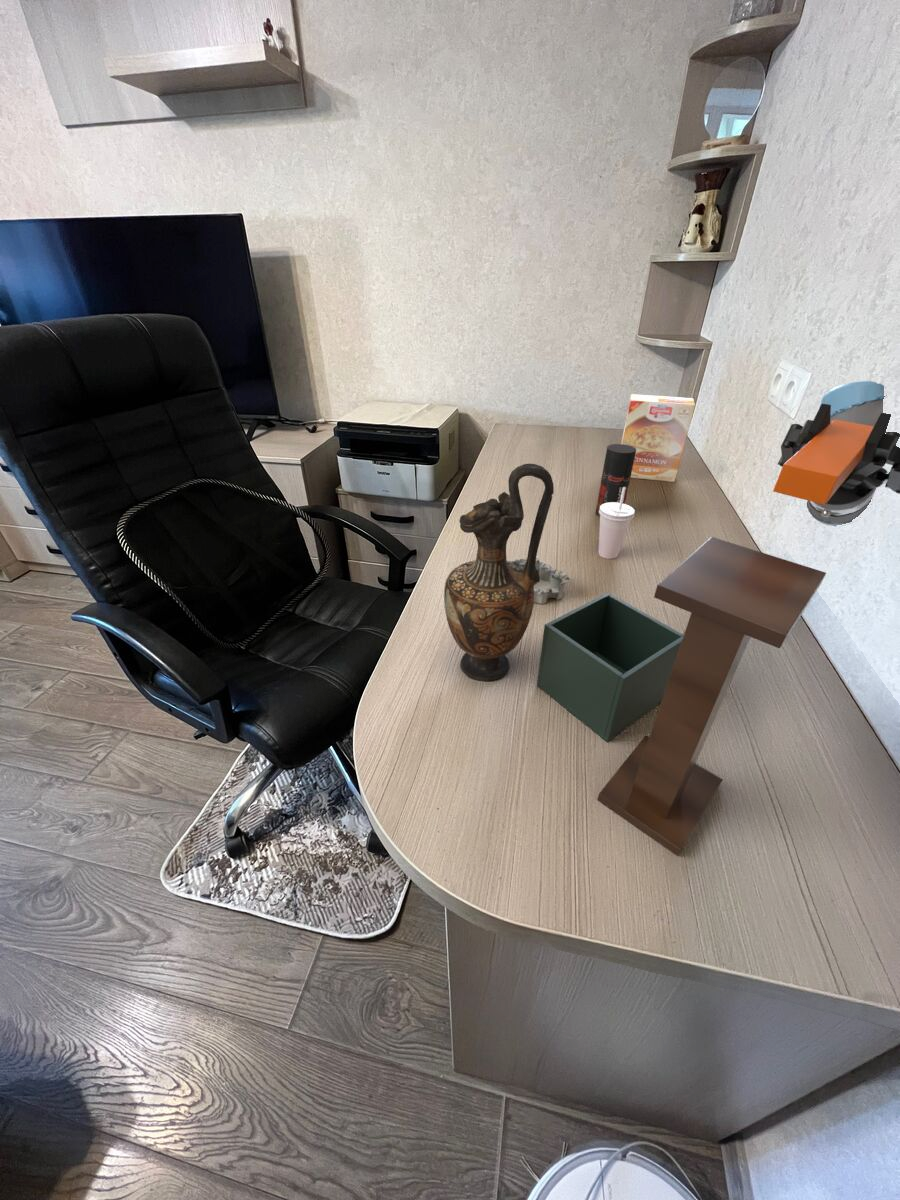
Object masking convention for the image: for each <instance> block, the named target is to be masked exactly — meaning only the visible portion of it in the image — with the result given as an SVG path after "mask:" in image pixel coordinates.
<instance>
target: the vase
mask: <svg viewBox="0 0 900 1200" xmlns="http://www.w3.org/2000/svg"><path fill="white" fill-rule="evenodd" d="M524 477H533V478H536V479H538V480H540V481H542V483H543V485H544V490H543V493H542V497H541V499H540V502H539V505H538V508H537V512H536V514H535V515H536V516H535V519H534V523H533V527H532V531H531V535H530V541H529V545H528V549H527V550H528V551H527V557H526V558H527V562H526V565H525V568H524V570H523V569H521V568H520V567H518V566H516V565H515V564H512V563H509V562H507V561H508V559H507V544H508V540H509V538H510V536H511V535H512V534H513V532H517V531H518V530H519V529H520V528H521V527H522V524H523V520H524V517H525V515H524V514H525V513H524V507H523V502H522V498H521V494H520V487H519V484H520V483H519V482H520V480H521V479H522V478H524ZM507 483H508V493H507V492H506V491H503V492H501V493H500V494H499V495H498V496H497V499H496V498H489V499H488V500H487V501H485V502H480V503H477V504H475V505H473V506H472V508H473V509H472V510H471V511H469V512H467V513H466V514H461V516H460V517H459V519H458V520H459V527H460V530H461V531H462V532H463V533H466V534H472V533H473V535H474V536H475V539H476V541H477V550H476V558H475V560H470V561H467V562H464V563H461V564H460V565H458V566H457V567H455V568H454V569H452V570H451V571H450V572H449V574H448V575H447V578H446V580H445V582H444V583H445V584H444V591H443V592H444V593H443V595H444V596H443V599H444V600H443V601H444V612H445V616H446V617H445V618H446V622H447V624H448V628H449V630H450V633H451V636H452V638H453V640H454V641H455V643H456V644H457V646H458V647H459V648H460V649H461V650H462V651H463V652H464V654H463V655H462V657H461V659H460V662H459V664H460V665H459V666H460V670H461V671H462V672H463V674H464V675H465V676H466V677H468V678H470V679H472V680H475V681H480V682H491V681H495V680H499V679H502V678H503V677H504V676H505V675H507V673H508V672H509V671H510V667H511V665H510V660H509V658H508V657H507V654H508V653H510V652H511V651H513V650H514V649H515V648H516V647H517V646H518V644H519V643H520V642H521V640H522V638H523V637H524V635H525V634H526V631H527V629H528V626H529V623H530V620H531V617H532V615H533V609H534V604H535V603H534V584H535V583H537V582H539V581H540V575H539V572H538V571H537V569H536V565H535V564H536V558H537V555H538V551H539V547H540V542H541V538H542V535H543V532H544V528H545V525H546V520H547V517H548V514H549V511H550V507H551V504H552V502H553V501H552V500H553V495H554V493H555V489H554V488H555V487H554V481H553V477H552V474H551V473H550V472H549V471H548V470H547V469H546V468H545V467H544V466H542V465H539V464H536V463H523V464H521V465H519V466H516V467H515V468H514V469H512V471H511V473H510V474H509V477H508V482H507Z"/></svg>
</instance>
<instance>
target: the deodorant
mask: <svg viewBox="0 0 900 1200" xmlns="http://www.w3.org/2000/svg"><path fill="white" fill-rule="evenodd" d="M635 454H636V448H635V447H633V446H630V445H625V444H621V443H613V444H608V445H606V451H605V457H604V463H603V467H602V474H601V478H600V479H601V480H600V485H599V491H598V496H597V502H596V507H595V515H596V516H597V517H599V518H600V514H599V510H600V506H601V505H602V504H604V503H609V502H617V503H620V498H621V494H622V489H623V487H626V490H625V495H624V499H623V504H626V500H627V497H628V491H629V487H630V482H631V478H630V477H631V473H632V468H633V463H634V459H635Z"/></svg>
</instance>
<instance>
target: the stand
mask: <svg viewBox="0 0 900 1200" xmlns="http://www.w3.org/2000/svg"><path fill="white" fill-rule="evenodd" d="M826 575H827V572H825V571H822V570H819V569H815V568H813V567H810V566H806V565H803V564H799V563H796V562H793V561H790V560H787V559H784V558H781V557H778V556H775V555H772V554H768V553H764V552H762V551H758V550H755V549H752V548H749V547H746V546H743V545H740V544H736V543H733V542H730V541H727V540H723V539H720V538H717V537H714V536H710V537H709V538H708V539H707V540H706V541H705V542H704V543H703V544H701V546H699V547H698V548H697V549H696V550H695V551H694V552H692V553H691V554H690V555H689V556H688V557H687V558H686V559H685V560H683V562H681V563H680V564H679V565H678V566H677V567H676V568H675V569H674V570H673V571H671V572H670V573H669V574H668V575H667V576H666V577H664V578H663V579H662V580H661V581H660V582H659V583H658V584H657V585H656V588H655V591H654V595H653V597H654V599H656V600H659V601H661V602H664V603H667V604H668V605H671V606H674V607H676V608H679V609H681V610H684V611H686V612H688V613H690V616H689V619H688V621H687V624H686V627H685V631H684V634H683V635H684V636H683V639H682V642H681V645H680V648H679V651H678V654H677V657H676V660H675V663H674V666H673V669H672V672H671V675H670V678H669V681H668V684H667V686H666V689H665V692H664V695H663V698H662V701H661V703H660V704H659V708H658V709H657V710H658V711H657V713H656V716H655V719H654V722H653V725H652V728H651V731H650V733H649V736H648V735H645V736H644V737H642V738H641V740H640V742H639V743H638V744H637V745H636V747H635V748H634V749H633V750H632V752H630V754H629V755H628V757H627V758H626V759H625V761H624V762H622V764H621V765H620V767H619V768H618V769H617V770H616V772H615V773H614V774H613V776H611V778H610V780H609V781H608V782H607V783H606V784H605V785H604V787H602V789H601V790H600V792H599V793H598V796H597V801H598V802H599V803H601V804H602V805H604V806H605V807H606V808H608V809H610V810H611V811H612V812H614V813H615V814H616V815H618V816H620V817H621V818H622V819H623V820H625V821H627V822H628V823H630V824H631V825H632V826H634V827H635V828H637V829H638V830H640V831H641V832H643V833H644V834H646V835H647V836H648V837H649V838H651V839H652V840H654V841H655V842H656V843H658V844H660V845H661V846H663V847H664V848H666V849H667V850H668V851H670V852H671V853H673V854H674V855H675V856H677V857H679V856H680V854H681V853H682V851H683V849H684V848H685V846H686V845H687V843H688V841H689V839H690V837H691V836H692V834H693V832H694V831H695V829H696V827H697V825H698V824H699V822H700V820H701V819H702V817H703V815H704V813H705V812H706V810H707V809H708V807H709V805H710V803H711V802H712V801H713V798H714V796H715V795H716V793H717V791H718V790H719V788H720V786H721V784H722V782H723V779H722V778H721V777H720V776H717V775H716V774H715V773H713V772H711V771H709V770H708V769H705V768H703V767H702V766H700V765H698V764H697V763H696V762H697V761H698V758H699V756H700V754H701V751H702V749H703V747H704V745H705V742H706V740H707V738H708V736H709V733H710V731H711V730H712V726H713V724H714V722H715V720H716V718H717V715H718V713H719V710H720V707H721V706H722V704H723V701H724V699H725V697H726V694H727V692H728V690H729V688H730V685H731V683H732V680H733V678H734V676H735V674H736V672H737V669H738V667H739V665H740V663H741V660H742V658H743V656H744V653H745V650H746V649H747V646H748V644H749V643H750V639H751V638H753V639H755V640H757V641H759V642H763V643H765V644H767V645H769V646H772V647H775V648H776V649H781V648H782V646H783V644H784V643H785V642H786V640H787V639H788V637H789V635H790V633H791V632H792V631H793V629H794V627H795V626H796V625H797V622H798V621H799V620H800V618H801V617H802V614H803V613H804V612H805V610H806V608H807V607H808V606H809V603H810V602H811V601H812V599H813V598H814V596H815V594H817V593H816V592H817V591H818V590H819V588H820V587H821V585H822V583H823V581H824V579H825V577H826Z"/></svg>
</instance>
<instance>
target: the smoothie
mask: <svg viewBox="0 0 900 1200" xmlns="http://www.w3.org/2000/svg"><path fill="white" fill-rule="evenodd" d="M625 490H626V487H623V489H622V494H621V498H620V503H617V502H609V503H604V504H602V505H601V506H600V510H599V514H600V517H599V532H598V533H599V534H598V535H599V536H598V555H599V556H600V557H601V558H603V559H606V560H607V559H608V560H613V559H616V558H618V556H619V554H620V550H621V548H622V546H623V543H624V540H625V537H626V534H627V531H628V529H629V526H630V524H631V521H632V520H633V519H634V517H635V512H636V511H635V509H634V507H632V506H631V505H629V504H626V503H625V504H623V499H624V495H625Z"/></svg>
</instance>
